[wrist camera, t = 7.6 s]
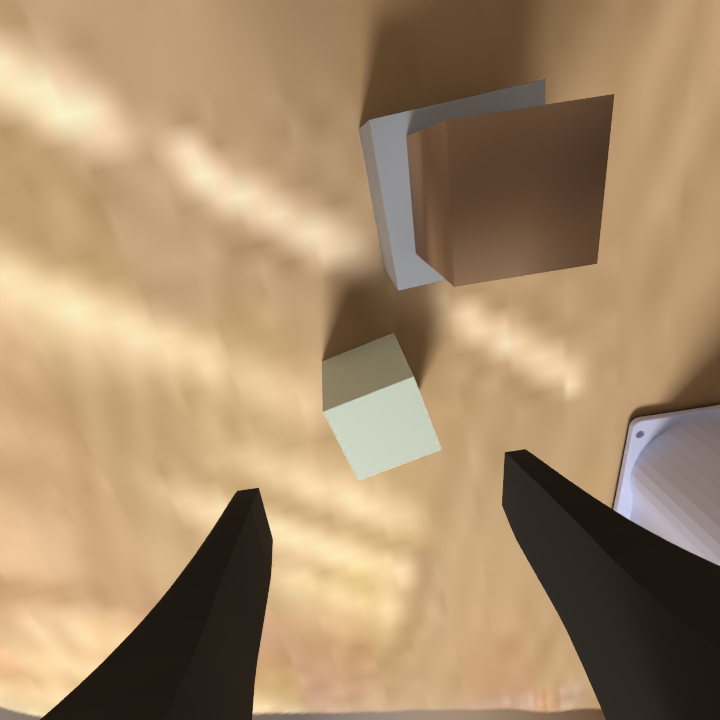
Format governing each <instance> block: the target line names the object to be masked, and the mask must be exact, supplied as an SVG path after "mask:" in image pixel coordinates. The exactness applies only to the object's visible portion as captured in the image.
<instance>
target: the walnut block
mask: <svg viewBox="0 0 720 720" xmlns="http://www.w3.org/2000/svg"><path fill="white" fill-rule="evenodd" d="M613 101H614V94H612V95H606V96H599V97H593V98H586V99H580V100H573V101H566V102H560V103H553V104H547V105H540V106H534V107H527V108H520V109H514V110H507V111H501V112H494V113H488V114H481V115H475V116H468V117H461V118H455V119H448V120H445V121H442V122H440V123H438V124H435V125H433V126H430V127H428V128H425V129H423V130H420V131H418V132H415V133H413V134H410V135H408V136H406V140H407V153H408V165H409V177H410V190H411V202H412V214H413V226H414V239H415V251H416V254H417V255H418V256H419V257H420V258H421V259H422V260H424V261H425V262H426V263H427V264H428V265H429V266H431V267H432V268H433V269H434V270H435V271H437V272H438V273H439V274H440V275H441V276H442V277H444V278H445V279H446V280H447V281H448V282H449V283H451V284H452V285H453V286H454V287H456V286H462V285H468V284H474V283H480V282H487V281H493V280H499V279H505V278H511V277H517V276H524V275H530V274H536V273H542V272H548V271H554V270H561V269H567V268H573V267H579V266H585V265H592V264H597V259H598V249H599V239H600V229H601V219H602V209H603V200H604V190H605V180H606V170H607V160H608V150H609V140H610V131H611V121H612V111H613Z"/></svg>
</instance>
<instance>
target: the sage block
mask: <svg viewBox="0 0 720 720" xmlns="http://www.w3.org/2000/svg"><path fill="white" fill-rule="evenodd" d="M322 392H323V413H324V415H325V417H326V419H327V421H328V423H329V425H330V427H331V429H332V431H333V432H334V434H335V436H336V438H337V440H338V442H339V444H340V446H341V448H342V450H343V452H344V454H345V456H346V458H347V460H348V462H349V463H350V465H351V467H352V469H353V471H354V473H355V475H356V477H357V479H358V481H359V480H362V479H365V478H367V477H370V476H373V475H375V474H378V473H381V472H383V471H386V470H389V469H391V468H394V467H397V466H399V465H402V464H405V463H408V462H410V461H413V460H416V459H418V458H421V457H424V456H426V455H429V454H432V453H434V452H437V451H440V450H442V449H441V446H440V444H439V441H438V439H437V436H436V433H435V431H434V428H433V425H432V423H431V420H430V418H429V415H428V412H427V410H426V407H425V404H424V402H423V399H422V397H421V394H420V391H419V389H418V386H417V383H416V381H415V378H414V376H413V374H412V371H411V369H410V367H409V365H408V363H407V360H406V358H405V356H404V354H403V352H402V349H401V347H400V345H399V343H398V341H397V338H396V336H395V334H394V333H392V334H389V335H387V336H384V337H382V338H379V339H377V340H374V341H372V342H369V343H366V344H364V345H361V346H359V347H356V348H354V349H351V350H349V351H346V352H344V353H341V354H339V355H336V356H334V357H331V358H329V359H326V360H324V361H322Z"/></svg>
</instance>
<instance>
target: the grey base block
mask: <svg viewBox="0 0 720 720" xmlns="http://www.w3.org/2000/svg"><path fill="white" fill-rule="evenodd" d="M540 105H545V79H543V80H539V81H535V82H530V83H526V84H522V85H517V86H513V87H509V88H505V89H500V90H496V91H492V92H487V93H483V94H479V95H474V96H470V97H466V98H461V99H457V100H453V101H448V102H444V103H440V104H435V105H431V106H427V107H422V108H418V109H414V110H410V111H405V112H401V113H397V114H392V115H388V116H384V117H379V118H375V119H371V120H368V121H367V122H366V123H365V124H364V125H363V126H362V127H361V128H360V129H359V132H360V138H361V143H362V148H363V154H364V159H365V165H366V170H367V176H368V181H369V187H370V192H371V198H372V203H373V209H374V214H375V220H376V225H377V230H378V236H379V241H380V247H381V252H382V258H383V263H384V269H385V271H386V272H387V274H388V275H389V277H390V278H391V280H392V282H393V283H394V285H395V286H396V288H397V289H398V291H400V290H404V289H408V288H413V287H417V286H421V285H426V284H430V283H435V282H439V281H443V280H446V279H445V278H444V277H442V276H441V275H440V274H439V273H438V272H437V271H435V270H434V269H433V268H432V267H431V266H429V265H428V264H427V263H426V262H425V261H424V260H422V259H421V258H420V257H419V256H418V255H417V254H416V251H415V239H414V226H413V214H412V202H411V190H410V177H409V165H408V153H407V140H406V136H408V135H410V134H413V133H415V132H418V131H420V130H423V129H425V128H428V127H430V126H433V125H435V124H438V123H440V122H442V121H445V120H448V119H455V118H461V117H468V116H475V115H481V114H488V113H494V112H501V111H507V110H514V109H520V108H527V107H534V106H540Z"/></svg>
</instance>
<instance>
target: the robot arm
mask: <svg viewBox="0 0 720 720" xmlns="http://www.w3.org/2000/svg"><path fill="white" fill-rule="evenodd" d="M502 506H503V509H504V511H505V514H506V516H507V519H508V521H509V524H510V526H511V528H512V531H513V533H514V535H515V538H516V539H517V541H518V543H519V545H520V547H521V549H522V550H523V552H524V554H525V556H526V558H527V559H528V561H529V563H530V565H531V567H532V568H533V570H534V572H535V574H536V575H537V577H538V579H539V581H540V582H541V584H542V586H543V588H544V589H545V591H546V593H547V595H548V597H549V598H550V600H551V602H552V604H553V605H554V607H555V609H556V611H557V612H558V614H559V616H560V618H561V620H562V622H563V624H564V626H565V628H566V630H567V632H568V634H569V636H570V638H571V641H572V643H573V645H574V647H575V649H576V652H577V654H578V656H579V658H580V660H581V663H582V665H583V667H584V669H585V672H586V674H587V676H588V679H589V681H590V683H591V685H592V688H593V690H594V692H595V695H596V697H597V699H598V702H599V704H600V706H601V709H602V711H603V713H604V716H605V718H606V720H720V405H716V406H709V407H703V408H696V409H690V410H683V411H676V412H670V413H663V414H657V415H650V416H644V417H638V418H635V419H634V420H632V422H631V423H630V426H629V431H628V436H627V441H626V446H625V451H624V457H623V462H622V467H621V472H620V477H619V482H618V487H617V493H616V498H615V503H614V508H613V509H611V508H610V507H608V506H606V505H605V504H603V503H602V502H600V501H599V500H597V499H595V498H594V497H592V496H591V495H589V494H588V493H586V492H585V491H583V490H582V489H581V488H579V487H578V486H576V485H575V484H573V483H572V482H570V481H569V480H568V479H566V478H565V477H563V476H562V475H561V474H559V473H558V472H556V471H555V470H554V469H552V468H551V467H549V466H548V465H547V464H545V463H544V462H543V461H541V460H540V459H538V458H537V457H536V456H534V455H533V454H531V453H530V452H529V451H527V450H526V449H524V450H517V451H510V452H505V460H504V479H503V497H502ZM272 544H273V539H272V535H271V531H270V528H269V524H268V520H267V517H266V513H265V509H264V506H263V502H262V498H261V495H260V491H259V488H255V489H248V490H241V491H237V492H236V493H235V495H234V496H233V498H232V499H231V501H230V502H229V504H228V506H227V507H226V509H225V510H224V512H223V514H222V515H221V517H220V518H219V520H218V521H217V523H216V524H215V526H214V528H213V529H212V531H211V532H210V534H209V535H208V537H207V538H206V539H205V541H204V542H203V544H202V545H201V547H200V548H199V550H198V551H197V553H196V554H195V555H194V557H193V558H192V560H191V561H190V562H189V564H188V565H187V566H186V568H185V569H184V570H183V572H182V573H181V574H180V576H179V577H178V578H177V580H176V581H175V582H174V583H173V585H172V586H171V587H170V589H169V590H168V591H167V592H166V594H165V595H164V596H163V597H162V598H161V600H160V601H159V602H158V603H157V604H156V606H155V607H154V608H153V609H152V610H151V611H150V613H149V614H148V615H147V616H146V617H145V618H144V619H143V621H142V622H141V623H140V624H139V625H138V626H137V627H136V628H135V629H134V630H133V632H132V633H131V634H130V635H129V636H128V637H127V638H126V639H125V640H124V641H123V642H122V643H121V644H120V645H119V646H118V647H117V648H116V649H115V650H114V651H113V652H112V653H111V654H110V655H109V656H108V657H107V658H106V660H105V661H104V662H103V663H102V664H101V665H100V666H99V667H97V668H96V669H95V670H94V671H93V672H92V673H91V674H90V675H89V676H88V677H87V678H86V679H85V680H84V681H83V682H82V683H81V684H80V685H78V686H77V687H76V688H75V689H74V690H73V691H72V692H71V693H70V694H69V695H67V696H66V697H65V698H64V699H63V700H62V701H61V702H60V703H59V704H57V705H56V706H55V707H54V708H53V709H52V710H51V711H50V712H48V713H47V714H46V715H45V716H44V717H43V718H41V719H40V720H252V710H253V697H254V684H255V675H256V667H257V659H258V653H259V647H260V641H261V635H262V629H263V623H264V616H265V610H266V604H267V598H268V592H269V585H270V579H271V567H272Z"/></svg>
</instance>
